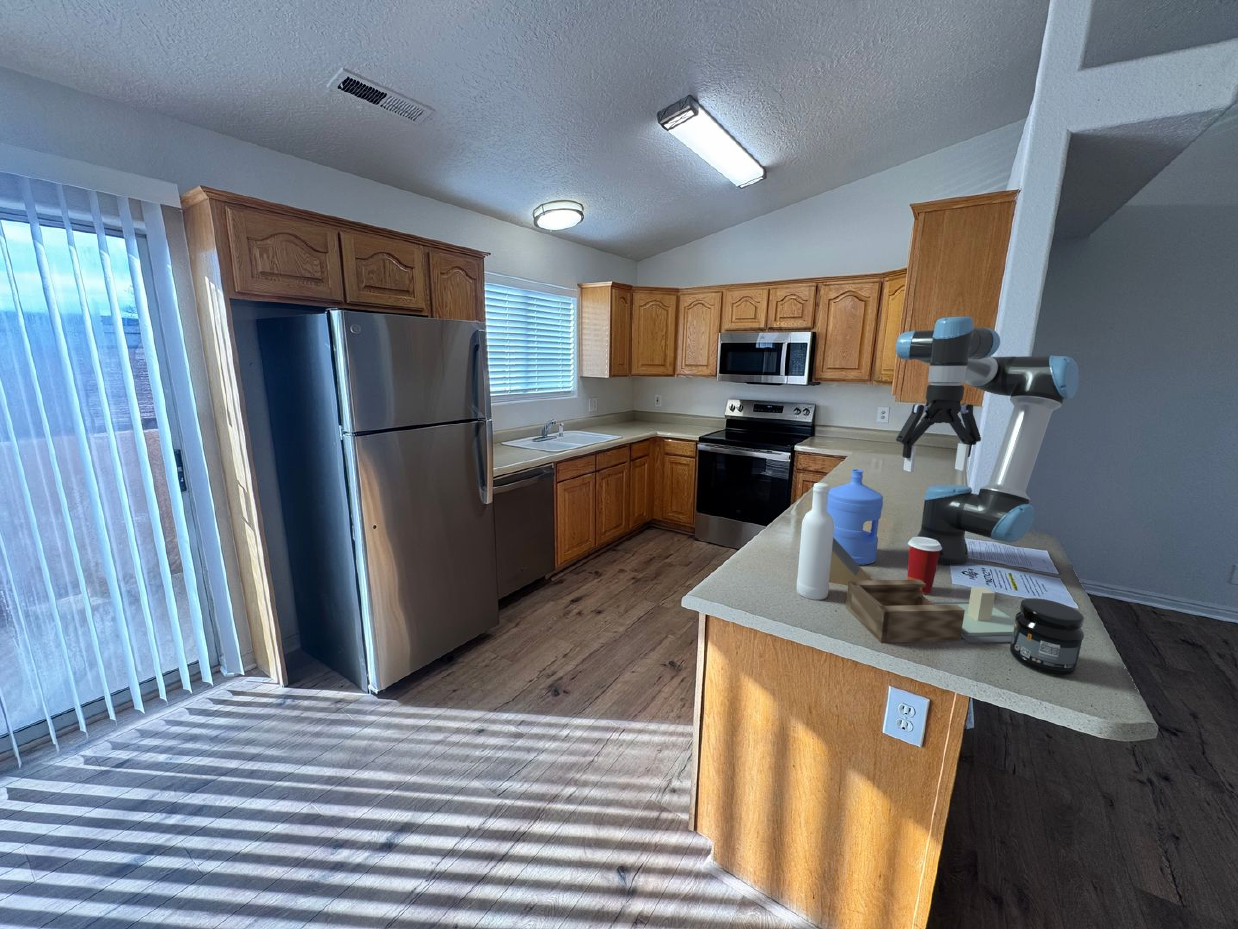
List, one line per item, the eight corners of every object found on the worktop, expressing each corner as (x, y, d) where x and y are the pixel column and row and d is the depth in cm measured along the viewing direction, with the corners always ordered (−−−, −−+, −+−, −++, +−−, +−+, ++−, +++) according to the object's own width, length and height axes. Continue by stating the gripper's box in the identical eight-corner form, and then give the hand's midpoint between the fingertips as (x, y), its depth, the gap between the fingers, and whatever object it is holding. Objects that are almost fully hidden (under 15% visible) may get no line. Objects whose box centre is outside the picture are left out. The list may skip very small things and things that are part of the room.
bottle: (834, 595, 128) (845, 485, 122) (815, 603, 124) (825, 489, 118) (808, 584, 135) (817, 479, 129) (789, 591, 131) (798, 483, 125)
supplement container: (1043, 647, 105) (1053, 596, 103) (1091, 678, 95) (1103, 622, 92) (995, 648, 105) (1004, 596, 102) (1038, 679, 95) (1049, 622, 92)
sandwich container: (871, 591, 132) (877, 538, 128) (811, 579, 139) (815, 529, 135) (872, 579, 139) (877, 529, 136) (814, 568, 146) (819, 520, 143)
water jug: (822, 561, 151) (830, 473, 145) (822, 544, 165) (829, 463, 160) (878, 569, 145) (889, 478, 140) (873, 551, 159) (883, 467, 154)
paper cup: (931, 585, 134) (938, 537, 132) (939, 598, 127) (946, 547, 124) (899, 581, 137) (905, 534, 134) (905, 593, 130) (911, 544, 127)
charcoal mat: (984, 603, 125) (984, 601, 125) (1047, 642, 107) (1047, 640, 107) (915, 604, 124) (916, 602, 124) (968, 644, 106) (968, 642, 106)
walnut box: (915, 606, 123) (919, 579, 121) (959, 640, 108) (964, 610, 106) (845, 608, 122) (848, 580, 120) (880, 642, 107) (884, 611, 105)
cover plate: (987, 606, 122) (992, 577, 121) (1032, 634, 109) (1038, 602, 108) (929, 607, 121) (933, 578, 120) (968, 636, 109) (973, 604, 107)
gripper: (982, 383, 121) (970, 466, 126) (886, 383, 119) (877, 468, 124) (1007, 384, 114) (993, 472, 118) (906, 385, 112) (895, 474, 117)
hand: (934, 470), depth 121 cm, fingers open, 13 cm apart
